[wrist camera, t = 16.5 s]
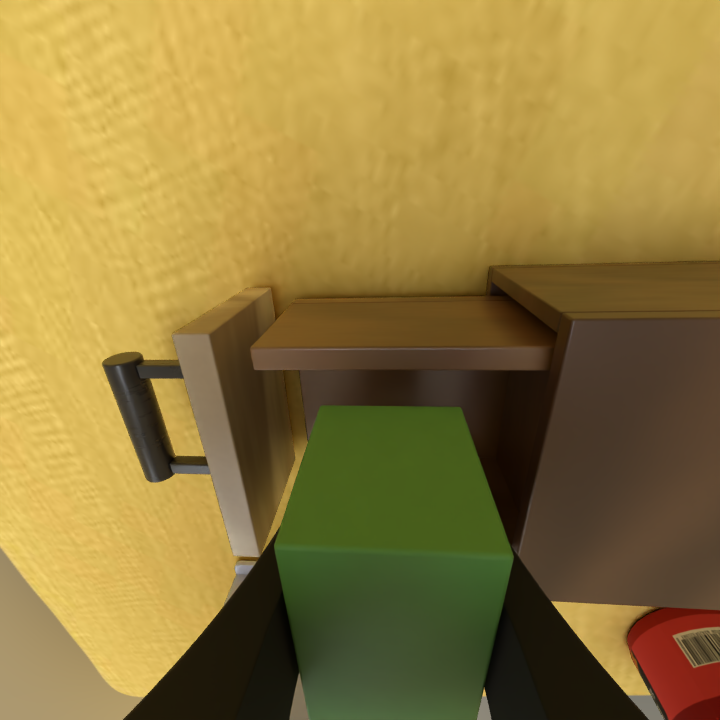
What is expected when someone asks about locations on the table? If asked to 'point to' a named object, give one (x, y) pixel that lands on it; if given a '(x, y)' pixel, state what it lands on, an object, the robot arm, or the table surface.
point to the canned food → (680, 661)
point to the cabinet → (624, 433)
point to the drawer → (337, 388)
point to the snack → (392, 565)
